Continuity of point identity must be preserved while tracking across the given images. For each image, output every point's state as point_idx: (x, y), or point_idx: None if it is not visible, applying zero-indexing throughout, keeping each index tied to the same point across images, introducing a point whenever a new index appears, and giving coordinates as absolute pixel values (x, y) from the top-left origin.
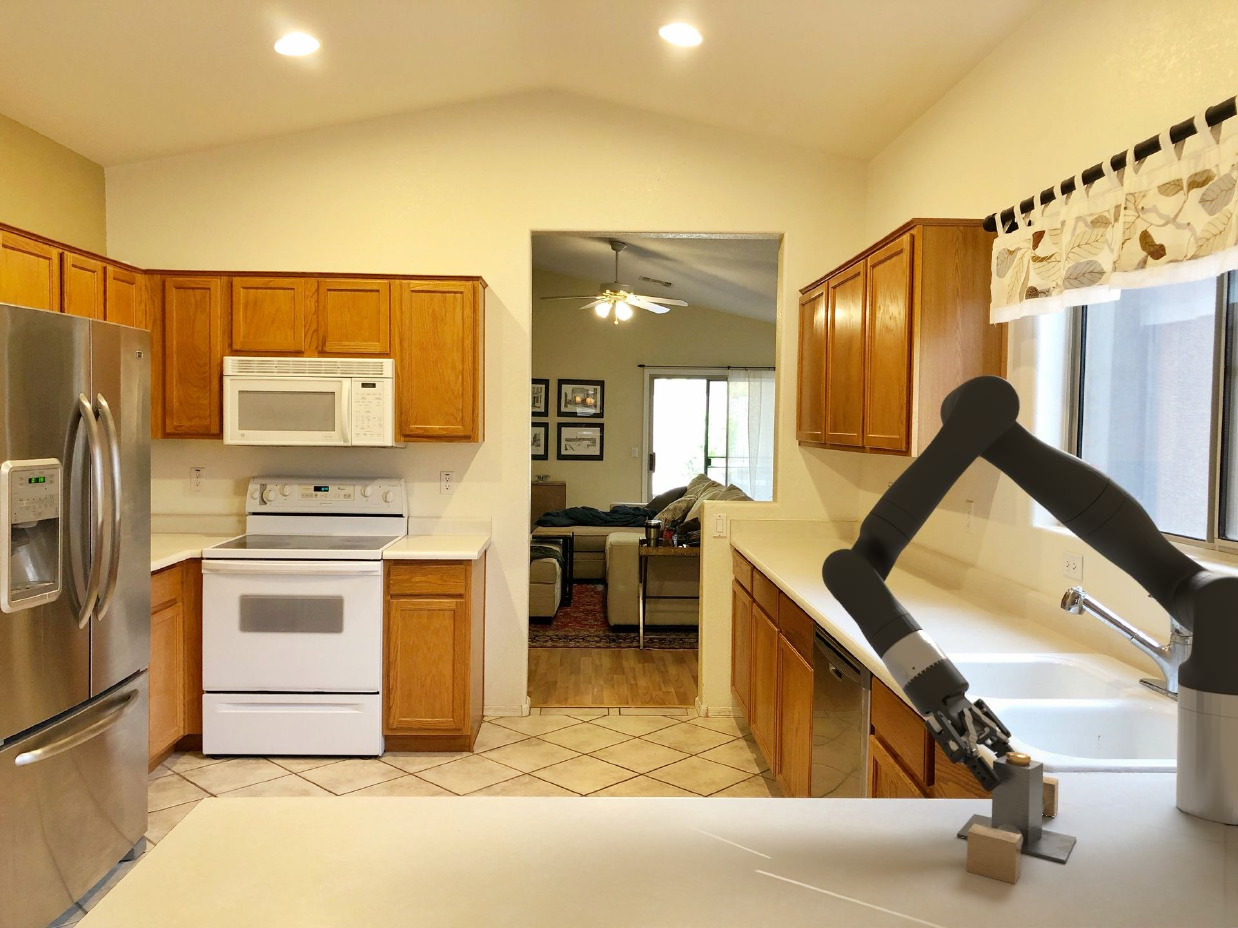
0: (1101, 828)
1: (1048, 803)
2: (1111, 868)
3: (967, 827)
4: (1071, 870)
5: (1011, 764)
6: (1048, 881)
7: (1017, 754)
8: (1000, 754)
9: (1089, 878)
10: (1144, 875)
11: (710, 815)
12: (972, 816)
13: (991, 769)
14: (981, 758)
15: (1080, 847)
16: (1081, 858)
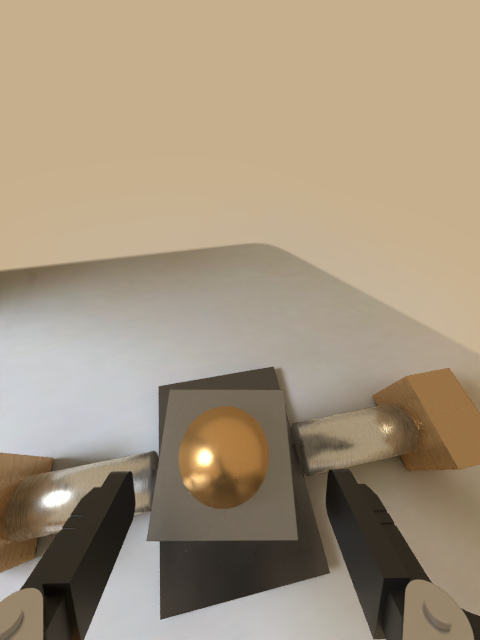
0: (60, 382)
1: (31, 470)
2: (230, 329)
3: (271, 575)
4: (282, 358)
5: (280, 457)
6: (346, 366)
7: (212, 461)
8: (88, 603)
9: (287, 336)
10: (221, 301)
11: None
12: (186, 610)
13: (359, 506)
14: (401, 563)
15: (180, 377)
16: (225, 363)
